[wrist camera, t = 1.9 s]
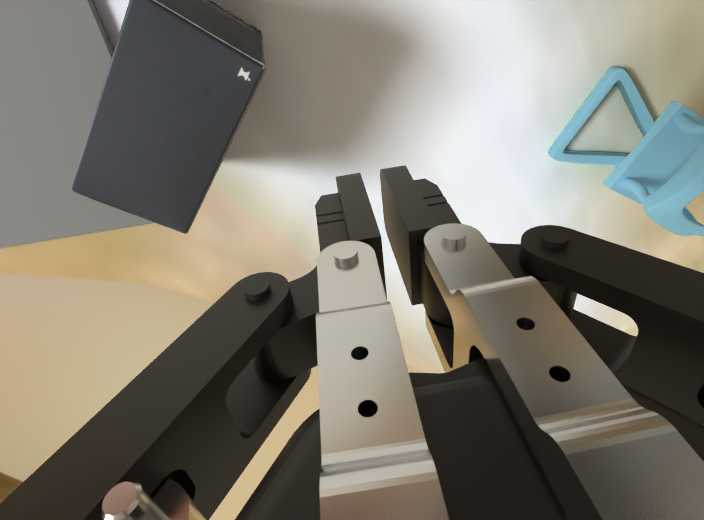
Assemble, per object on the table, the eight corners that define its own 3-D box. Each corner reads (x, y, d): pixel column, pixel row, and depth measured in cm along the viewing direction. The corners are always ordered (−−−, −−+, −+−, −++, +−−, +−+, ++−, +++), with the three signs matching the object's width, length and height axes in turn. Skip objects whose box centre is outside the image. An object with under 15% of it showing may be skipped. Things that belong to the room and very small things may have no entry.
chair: (611, 187, 39) (718, 265, 30) (545, 153, 36) (640, 227, 27) (679, 108, 36) (827, 168, 26) (611, 63, 33) (749, 112, 23)
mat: (51, -100, 24) (44, -102, 23) (180, 213, 35) (178, 218, 35) (-230, -60, 23) (-244, -60, 22) (-4, 244, 35) (-9, 249, 34)
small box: (165, -30, 26) (127, -23, 17) (265, 32, 29) (275, 64, 20) (112, 126, 30) (61, 192, 21) (204, 166, 33) (191, 239, 24)
